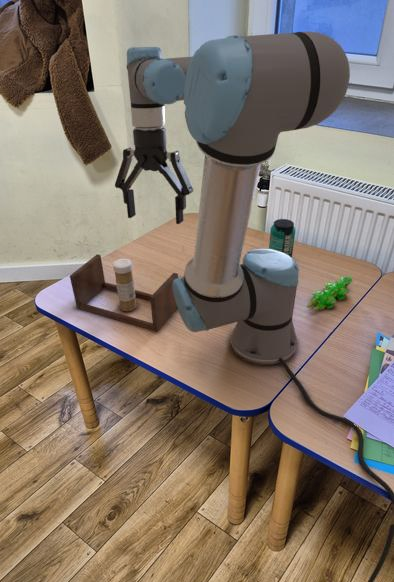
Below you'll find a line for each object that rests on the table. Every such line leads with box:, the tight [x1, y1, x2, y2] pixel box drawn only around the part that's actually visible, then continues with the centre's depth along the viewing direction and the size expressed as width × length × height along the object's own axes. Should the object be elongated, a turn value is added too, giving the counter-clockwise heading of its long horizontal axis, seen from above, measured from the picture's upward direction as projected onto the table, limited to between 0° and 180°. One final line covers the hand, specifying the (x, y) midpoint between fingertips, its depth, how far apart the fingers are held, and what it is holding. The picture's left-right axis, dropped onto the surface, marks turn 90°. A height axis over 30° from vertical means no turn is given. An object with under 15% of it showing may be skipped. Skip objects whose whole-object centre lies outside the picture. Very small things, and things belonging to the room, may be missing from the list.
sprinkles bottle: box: [112, 258, 138, 312], centre depth 119 cm, size 5×5×13 cm
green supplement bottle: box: [268, 218, 296, 258], centre depth 137 cm, size 7×7×12 cm
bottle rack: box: [69, 253, 179, 333], centre depth 120 cm, size 12×24×10 cm, turn 65°
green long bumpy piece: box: [306, 275, 353, 311], centre depth 123 cm, size 7×18×4 cm, turn 134°
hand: (155, 219), depth 118 cm, fingers open, 13 cm apart
